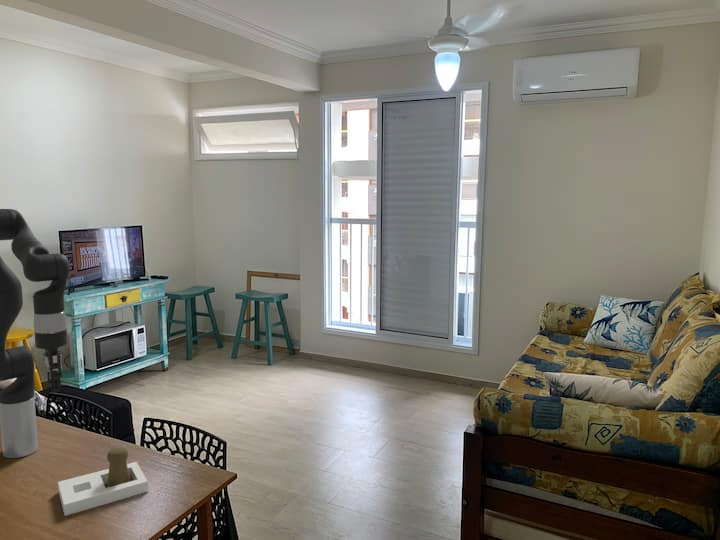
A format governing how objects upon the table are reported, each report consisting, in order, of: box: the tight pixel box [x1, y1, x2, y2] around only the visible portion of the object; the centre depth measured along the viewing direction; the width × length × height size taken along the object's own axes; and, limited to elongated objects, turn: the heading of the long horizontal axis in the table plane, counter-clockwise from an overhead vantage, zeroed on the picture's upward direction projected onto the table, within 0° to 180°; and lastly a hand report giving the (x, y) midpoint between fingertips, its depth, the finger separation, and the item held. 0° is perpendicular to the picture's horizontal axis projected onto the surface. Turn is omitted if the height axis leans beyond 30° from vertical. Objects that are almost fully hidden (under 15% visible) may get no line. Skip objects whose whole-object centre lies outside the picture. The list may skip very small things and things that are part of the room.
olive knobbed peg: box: [106, 446, 131, 488], centre depth 146 cm, size 6×6×11 cm
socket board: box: [57, 461, 149, 516], centre depth 144 cm, size 13×20×3 cm, turn 125°
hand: (54, 386), depth 144 cm, fingers open, 8 cm apart
